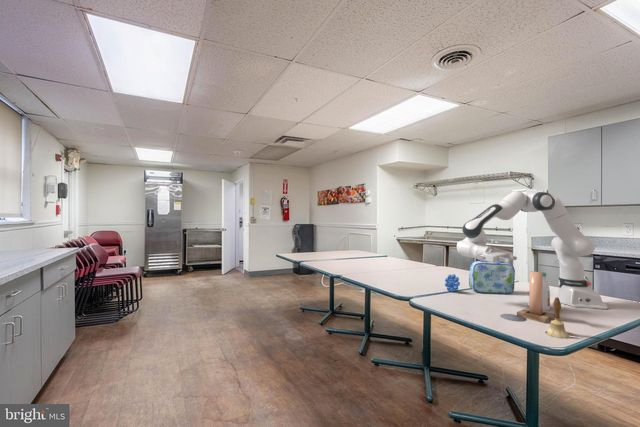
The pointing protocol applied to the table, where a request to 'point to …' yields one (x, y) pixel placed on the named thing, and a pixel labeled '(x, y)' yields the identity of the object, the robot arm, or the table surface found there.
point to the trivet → (513, 317)
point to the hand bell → (557, 323)
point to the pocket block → (536, 316)
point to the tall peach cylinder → (535, 293)
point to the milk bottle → (545, 294)
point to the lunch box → (492, 277)
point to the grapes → (452, 283)
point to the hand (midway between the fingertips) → (512, 259)
